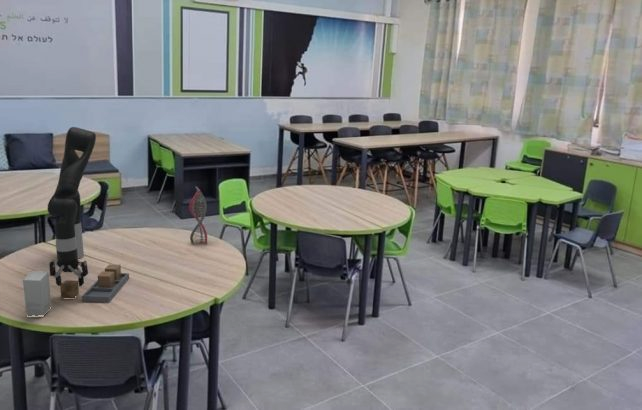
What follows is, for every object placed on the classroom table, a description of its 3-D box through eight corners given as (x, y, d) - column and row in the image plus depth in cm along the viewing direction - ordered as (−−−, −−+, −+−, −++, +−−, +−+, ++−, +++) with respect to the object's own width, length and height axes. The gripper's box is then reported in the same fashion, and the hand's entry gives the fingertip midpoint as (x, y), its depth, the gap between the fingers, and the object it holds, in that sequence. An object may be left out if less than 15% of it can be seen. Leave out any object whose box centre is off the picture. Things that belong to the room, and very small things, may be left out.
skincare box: (35, 308, 213) (31, 270, 208) (53, 308, 213) (49, 270, 209) (25, 318, 204) (21, 279, 200) (44, 318, 205) (40, 279, 201)
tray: (82, 301, 219) (81, 285, 217) (105, 277, 243) (104, 262, 241) (109, 302, 219) (107, 286, 218) (129, 278, 243) (128, 263, 241)
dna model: (203, 246, 284) (202, 190, 276) (187, 245, 286) (185, 189, 278) (210, 241, 293) (209, 186, 285) (194, 239, 294) (193, 185, 286)
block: (61, 299, 221) (59, 285, 219) (66, 293, 226) (65, 280, 224) (73, 299, 221) (72, 285, 219) (79, 294, 226) (77, 280, 224)
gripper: (88, 244, 221) (91, 282, 226) (52, 244, 221) (56, 281, 225) (80, 251, 214) (84, 289, 218) (44, 250, 214) (48, 288, 218)
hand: (70, 285), depth 222 cm, fingers open, 8 cm apart
